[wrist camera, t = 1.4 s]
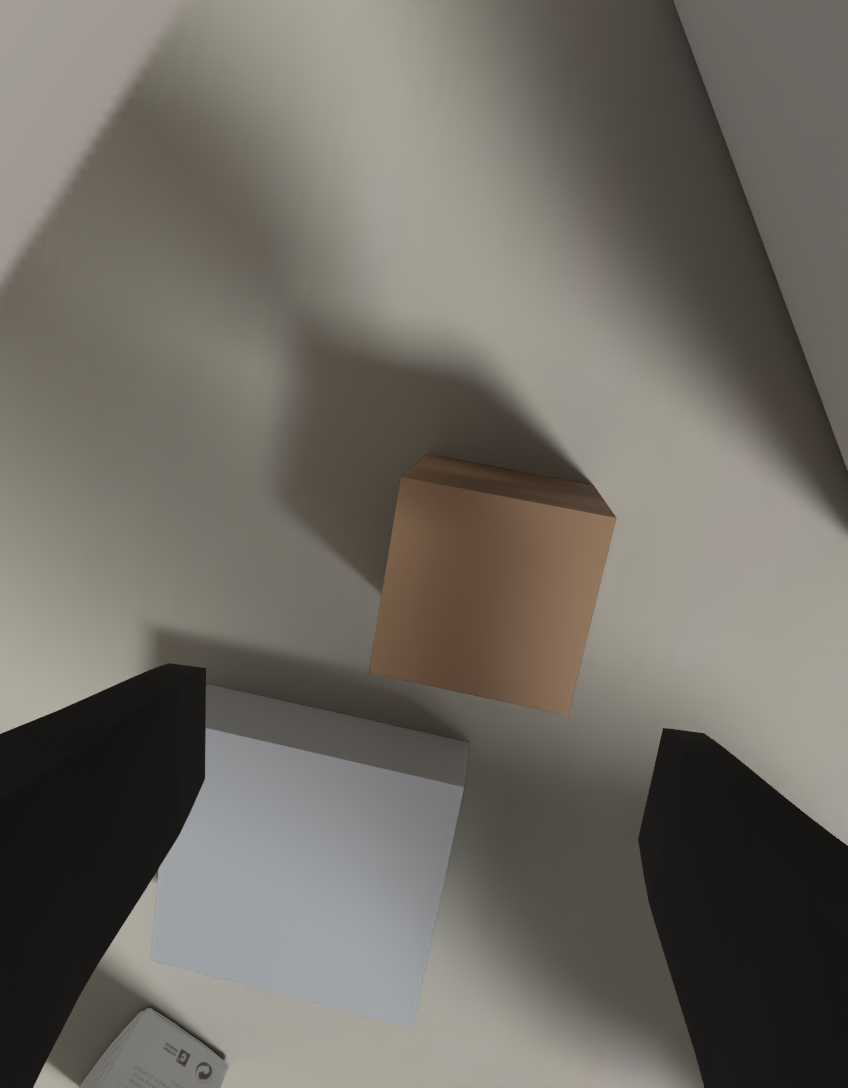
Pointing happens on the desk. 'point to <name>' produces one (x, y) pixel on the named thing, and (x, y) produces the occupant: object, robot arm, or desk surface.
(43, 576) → the desk surface
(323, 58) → the desk surface
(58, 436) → the desk surface
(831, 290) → the radio
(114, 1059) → the skincare box
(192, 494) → the desk surface
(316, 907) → the stoneware block
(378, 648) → the walnut cube
